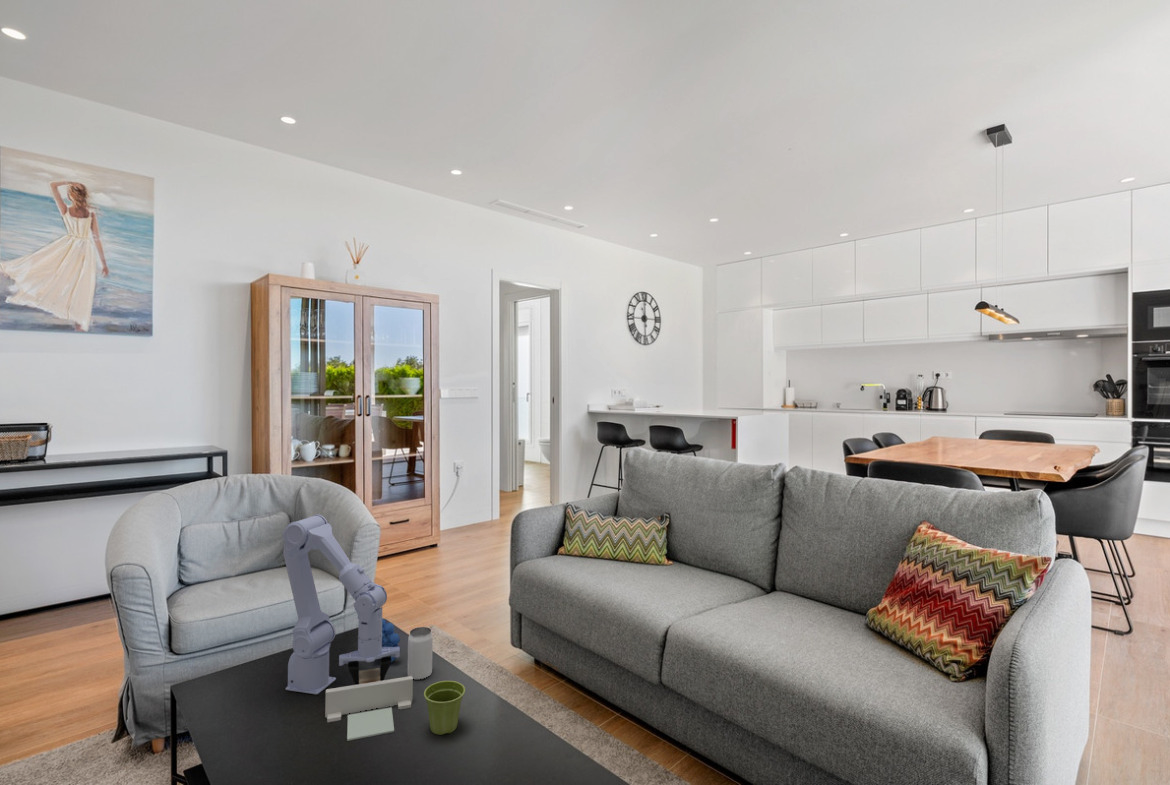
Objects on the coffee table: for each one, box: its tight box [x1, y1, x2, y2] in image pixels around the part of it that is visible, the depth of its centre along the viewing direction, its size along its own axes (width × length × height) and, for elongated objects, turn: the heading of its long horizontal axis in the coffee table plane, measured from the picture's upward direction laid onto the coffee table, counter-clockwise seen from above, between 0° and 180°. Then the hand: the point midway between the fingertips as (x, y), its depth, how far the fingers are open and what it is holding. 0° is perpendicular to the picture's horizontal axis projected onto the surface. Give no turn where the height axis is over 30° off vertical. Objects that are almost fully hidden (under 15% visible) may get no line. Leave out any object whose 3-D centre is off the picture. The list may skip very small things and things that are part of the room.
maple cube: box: [358, 667, 380, 684], centre depth 150 cm, size 5×5×5 cm
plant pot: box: [423, 680, 466, 736], centre depth 136 cm, size 9×9×9 cm
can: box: [407, 626, 434, 681], centre depth 160 cm, size 6×6×12 cm
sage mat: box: [346, 706, 395, 742], centre depth 137 cm, size 10×10×1 cm
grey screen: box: [324, 675, 414, 723], centre depth 144 cm, size 20×6×6 cm, turn 111°
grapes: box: [382, 617, 401, 663], centre depth 167 cm, size 12×7×12 cm, turn 64°
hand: (369, 687), depth 150 cm, fingers closed on maple cube, 5 cm apart
